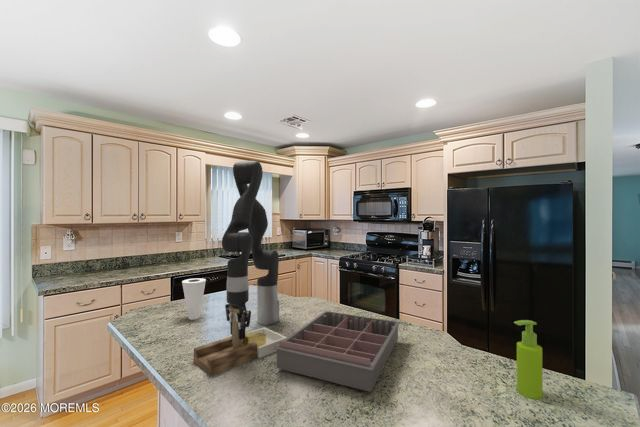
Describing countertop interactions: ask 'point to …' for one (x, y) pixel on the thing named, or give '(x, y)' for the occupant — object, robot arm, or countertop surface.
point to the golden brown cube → (260, 339)
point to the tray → (269, 341)
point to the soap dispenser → (529, 363)
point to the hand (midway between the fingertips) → (237, 336)
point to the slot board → (223, 355)
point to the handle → (235, 329)
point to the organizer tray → (340, 349)
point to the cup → (193, 296)
